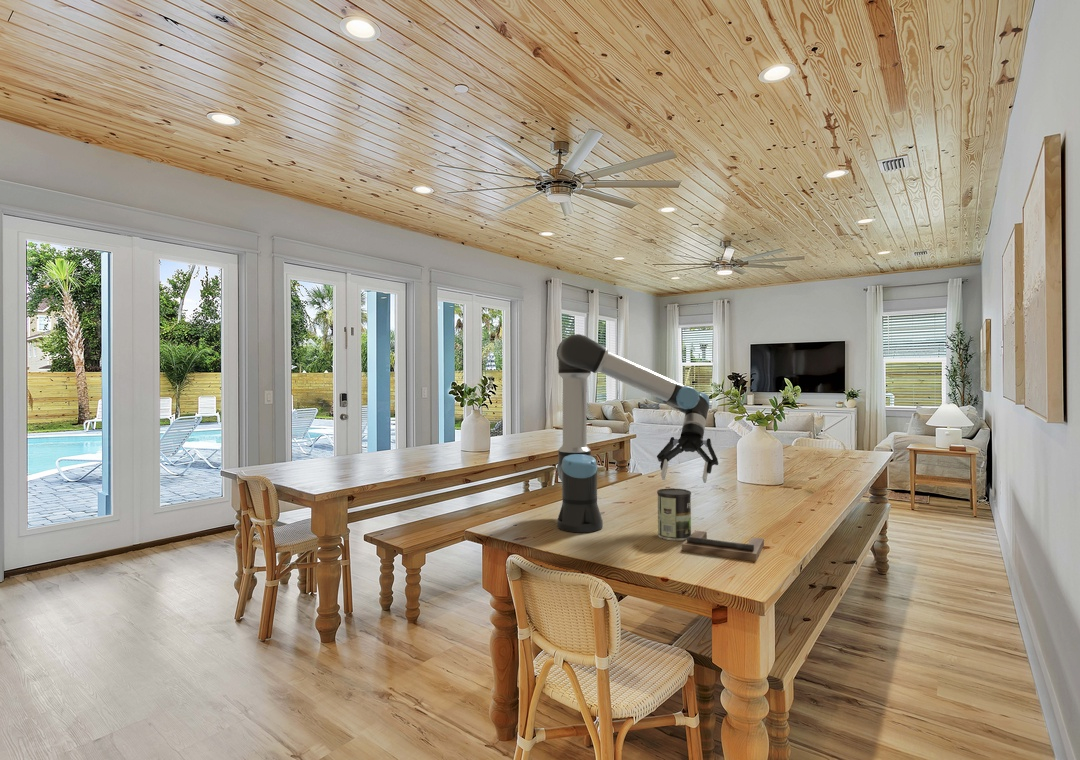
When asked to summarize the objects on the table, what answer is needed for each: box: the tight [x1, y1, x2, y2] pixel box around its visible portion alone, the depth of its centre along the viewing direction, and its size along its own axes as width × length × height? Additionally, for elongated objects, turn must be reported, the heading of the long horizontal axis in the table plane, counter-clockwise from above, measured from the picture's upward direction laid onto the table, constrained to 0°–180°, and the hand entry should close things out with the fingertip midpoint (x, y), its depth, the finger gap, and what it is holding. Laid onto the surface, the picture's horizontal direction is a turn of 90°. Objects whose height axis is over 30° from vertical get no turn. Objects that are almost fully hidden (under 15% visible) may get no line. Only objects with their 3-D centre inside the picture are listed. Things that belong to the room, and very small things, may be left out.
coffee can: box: [656, 487, 692, 542], centre depth 177 cm, size 10×10×14 cm
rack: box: [681, 530, 765, 562], centre depth 164 cm, size 20×16×4 cm
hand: (683, 479), depth 186 cm, fingers open, 13 cm apart
